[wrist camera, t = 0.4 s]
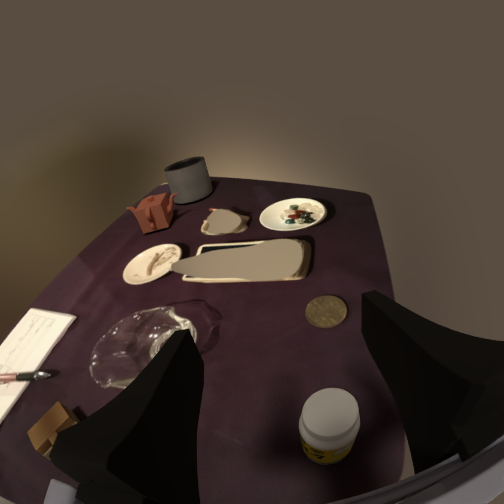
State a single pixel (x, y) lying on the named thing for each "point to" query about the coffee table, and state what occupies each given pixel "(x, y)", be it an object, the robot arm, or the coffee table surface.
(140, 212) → the teapot
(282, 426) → the coffee table surface
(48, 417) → the brown t-shaped piece
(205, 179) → the planter
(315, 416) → the supplement bottle
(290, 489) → the coffee table surface
